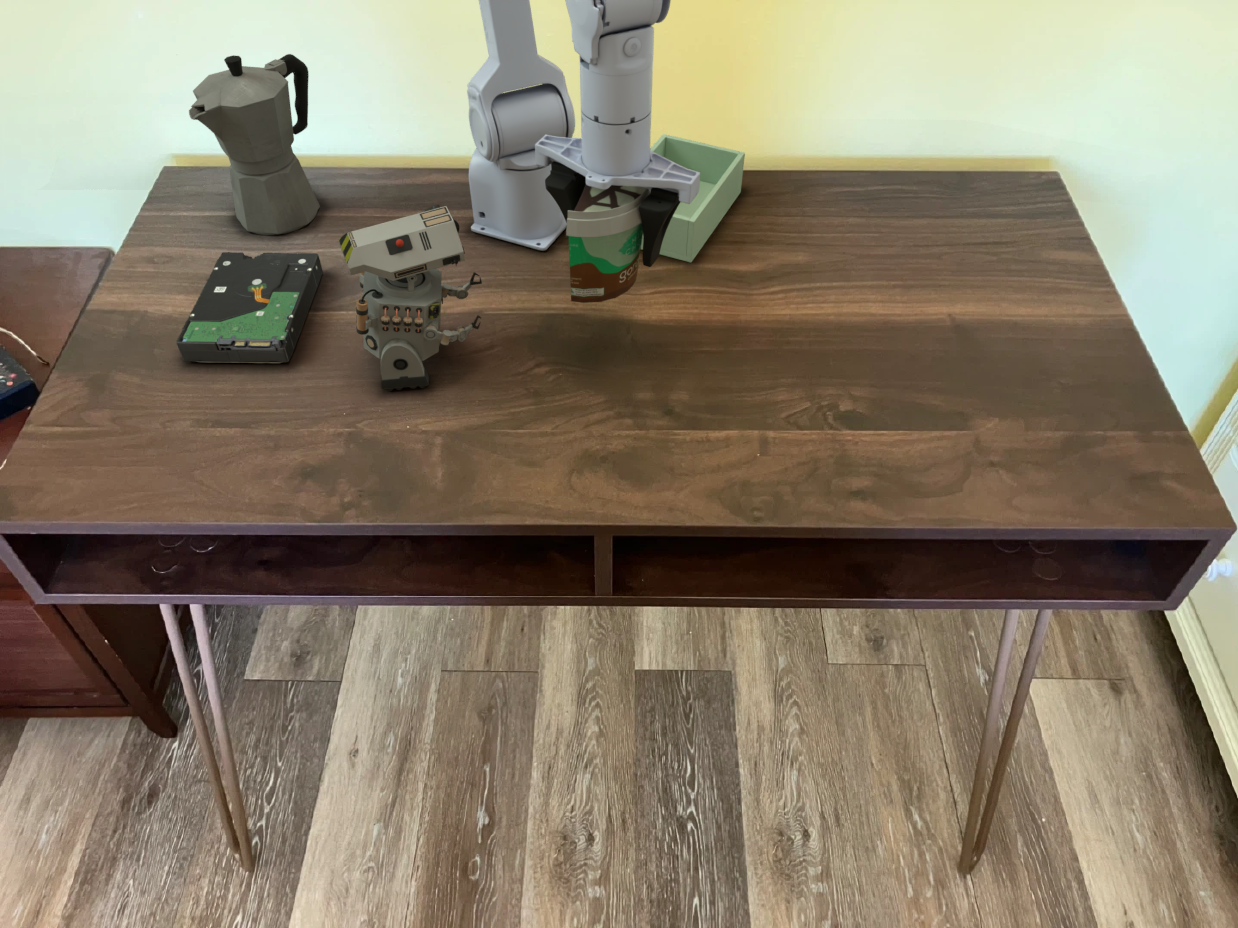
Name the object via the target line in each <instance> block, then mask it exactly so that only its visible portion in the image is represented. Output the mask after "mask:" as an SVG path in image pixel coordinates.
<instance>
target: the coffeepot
mask: <svg viewBox="0 0 1238 928" xmlns="http://www.w3.org/2000/svg"><path fill="white" fill-rule="evenodd" d="M223 60H224V63H225V64H226V66H227V68H228V69H226V70H223V71H219V72H215V73H210V74H208V75H207V76H206V77H205V78H204V79H203V80H202V81H201V82H200V83H199V84H198V85H197V86H196V87H195V88H194V89H193V90H192V93H193V95H194V97H195V99H196V100H195V101H194V103H193V104H192V105H191V106H190V107H191V108H190V109H188V116H189V118H190V119H191V120H194V121H198V122H200V123H201V124H202V125H204V126H205V127H206V128H207V129H208V130H209V131H211V133H213V135H214V137H215V138H216V140H217V142H218V145H219V146H220V148H221V150H222V151H223V152H224V154H225V155H226V156H227V158H228V160H229V163H230V164H229V165H230V166H229V167H228V168H229V175H230V182H231V190H232V196H233V204H234V211H235V217H236V219H237V220H238V222H239V223H240V224H241V226H242V227H243V229H245V230H246V231H247V232H250V233H253V234H256V235H261V236H277V235H278V236H279V235H280V236H281V235H284V234H289V233H293V232H296V231H299V230H300V229H302V228H304V227H306V226H307V225H309V224H310V223H311V222H312V221H313V220H314V219H315V218H316V216H317V214H318V210H320V207H321V205H320V203H319V201H318V198H317V196H316V195H315V192H314V190H313V188H312V186H311V184H310V182H309V179H308V177H307V175H306V172H305V170H304V169H303V166H302V165H301V162H300V160H299V159H298V157H297V156H296V154H295V152H294V150H293V147H292V145H293V143H294V141H295V135H298V134H300V133H301V132H303V131H305V130H306V129H307V128H308V126H309V123H308V122H309V121H308V120H309V119H308V118H309V77H310V75H309V69H308V68H309V67H308V66H307V65H306V63H305V62H304V61H302V60H301V59H299V58H298V57H297V56H295V55H294V54H292V53H287V54H285V55H284V56H282V57H281V58H278V59H276V58H275V59H273V60H271V61H269V62H267V63H265V64H264V67H260V66H259V67H258V66H246V65H245V66H244V65H243V62H242V57H241V56H240V55H230V56H229V55H228V56H226V57H225V58H224V59H223ZM291 74H293V86H294V93H295V94H294V95H295V97H294V98H295V99H294V109H295V114H296V117H297V119H296V122H295V124H293V117H292V108H291V98H290V88H289V80H288V79H286V78H287V77H288V76H290V75H291Z"/></svg>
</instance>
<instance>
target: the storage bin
mask: <svg viewBox="0 0 1238 928" xmlns="http://www.w3.org/2000/svg"><path fill="white" fill-rule="evenodd" d="M650 150H651V151H653V152H655V153H657V154H659V155H660V156H662V157H664V158H666V159H668V160H670V161H672V162H674V163H676V164H678V165H680V166H682V167H684V168H687V169H690V170H693V171H696V172H700V182H699V193H698V194H697V196H696V197H695V198H694V200H693V201H692V202H691V203H690V204H687V203H683V202H680V204H679V206H678V207H677V209H676V211H675V213H674V215H673V217H672V219H671V221H670V223H669V225H668V228H667V230H666V233H665V236H664V238H663V242H662V245H661V249H660V254H659V255H661V256H664V257H668V258H671V259H675V260H679V261H683V262H687V263H692V262H693V261H694V259H695V258H696V257H697V255H698V254H699V252H700V251H701V249H702V248H703V247H704V245H705V244H706V242H707V241H708V240H709V238H710V237H711V235H712V234H713V232H714V231H715V230H716V228H717V227H718V225H719V224H720V222H721V221H722V220H723V218H724V217H725V215H726V214H727V212H728V211H729V209H731V206H732V205H733V204H734V203H735V201H736V200H737V198H738V197H739V195H740V194H741V192H742V184H743V175H744V165H745V157H746V152H744V151H740V150H735V149H731V148H726V147H722V146H718V145H713V144H710V143H704V142H699V141H696V140H691V139H687V138H682V137H678V136H674V135H670V134H667V133H662V134H661V135H660V137H658V139H657V140H656V141H655V142H654V143H653V144H652V146H650ZM641 250H642V251H643V237H642V244H641Z"/></svg>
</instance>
